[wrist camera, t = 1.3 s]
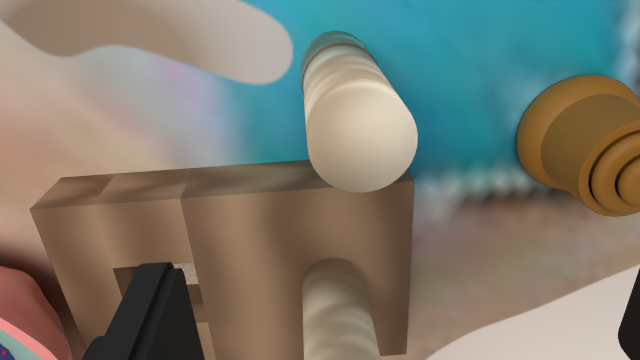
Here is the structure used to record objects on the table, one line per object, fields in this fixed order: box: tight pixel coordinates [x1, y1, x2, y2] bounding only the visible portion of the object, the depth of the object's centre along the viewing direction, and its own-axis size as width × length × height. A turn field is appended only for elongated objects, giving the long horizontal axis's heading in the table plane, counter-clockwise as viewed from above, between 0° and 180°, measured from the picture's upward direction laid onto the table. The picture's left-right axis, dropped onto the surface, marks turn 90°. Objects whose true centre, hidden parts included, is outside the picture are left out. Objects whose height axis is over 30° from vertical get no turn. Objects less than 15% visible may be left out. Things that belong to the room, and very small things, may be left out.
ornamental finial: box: [516, 74, 640, 217], centre depth 26 cm, size 8×8×8 cm
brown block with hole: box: [30, 160, 414, 360], centre depth 28 cm, size 22×14×12 cm, turn 93°
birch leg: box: [302, 31, 418, 193], centre depth 22 cm, size 4×4×12 cm
